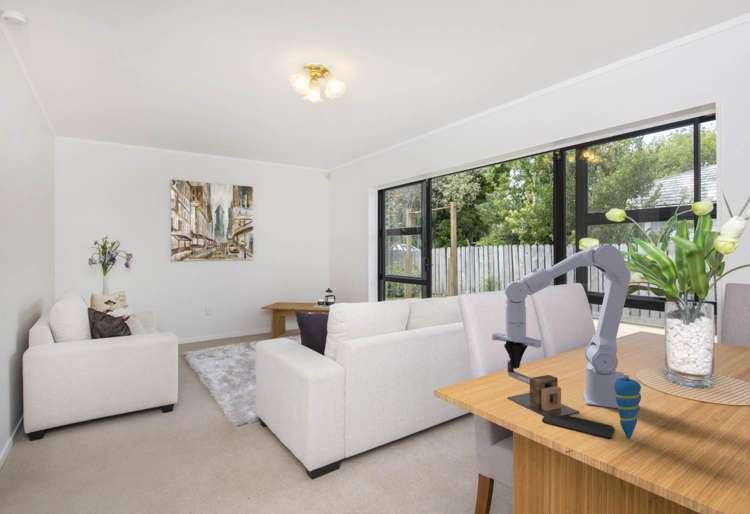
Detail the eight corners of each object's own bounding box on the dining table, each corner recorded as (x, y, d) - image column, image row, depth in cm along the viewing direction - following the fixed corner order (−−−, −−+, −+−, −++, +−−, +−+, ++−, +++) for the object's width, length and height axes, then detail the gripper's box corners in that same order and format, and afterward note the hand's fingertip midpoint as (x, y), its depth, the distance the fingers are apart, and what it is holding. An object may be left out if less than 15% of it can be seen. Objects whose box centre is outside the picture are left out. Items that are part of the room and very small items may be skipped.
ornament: (645, 445, 85) (646, 377, 85) (619, 443, 86) (619, 375, 86) (634, 434, 90) (635, 369, 90) (610, 432, 91) (610, 368, 91)
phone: (548, 410, 102) (614, 425, 93) (548, 414, 102) (614, 429, 93) (540, 420, 97) (610, 437, 87) (540, 424, 97) (610, 441, 87)
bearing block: (557, 404, 106) (557, 377, 106) (538, 409, 103) (538, 381, 103) (548, 400, 109) (548, 374, 109) (529, 405, 106) (529, 378, 106)
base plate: (579, 412, 102) (579, 411, 102) (551, 419, 98) (551, 418, 98) (533, 393, 116) (533, 391, 116) (507, 398, 112) (507, 397, 112)
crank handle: (544, 388, 107) (544, 371, 107) (539, 389, 106) (539, 372, 106) (511, 375, 119) (511, 359, 119) (506, 376, 118) (506, 360, 118)
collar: (561, 407, 104) (561, 387, 104) (546, 411, 102) (546, 390, 102) (556, 405, 106) (556, 385, 106) (541, 408, 104) (541, 388, 103)
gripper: (546, 323, 113) (546, 370, 113) (500, 317, 123) (500, 359, 124) (535, 326, 108) (535, 375, 108) (488, 320, 119) (488, 364, 119)
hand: (515, 367), depth 116 cm, fingers closed
